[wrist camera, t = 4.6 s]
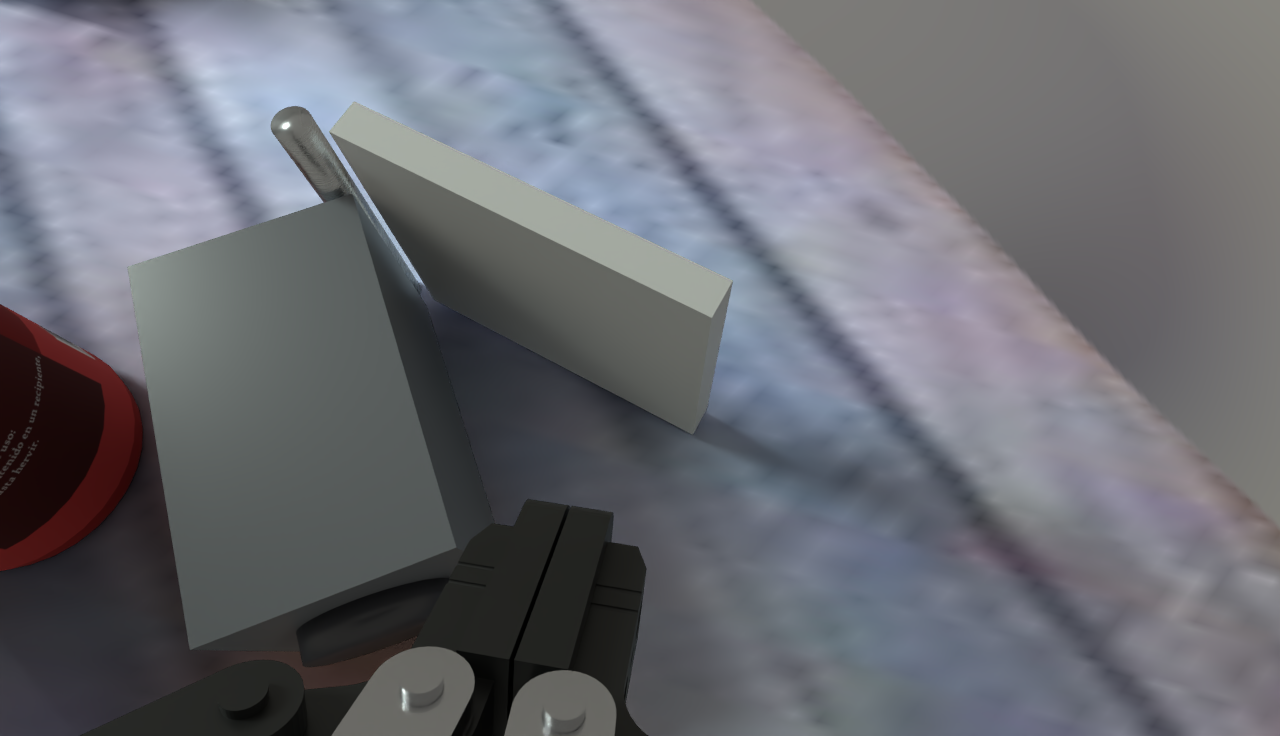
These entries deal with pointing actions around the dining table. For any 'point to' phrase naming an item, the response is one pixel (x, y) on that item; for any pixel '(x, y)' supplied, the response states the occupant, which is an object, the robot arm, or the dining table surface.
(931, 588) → the dining table surface
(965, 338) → the dining table surface
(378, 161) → the side door
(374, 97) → the dining table surface
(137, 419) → the canned food
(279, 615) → the block
